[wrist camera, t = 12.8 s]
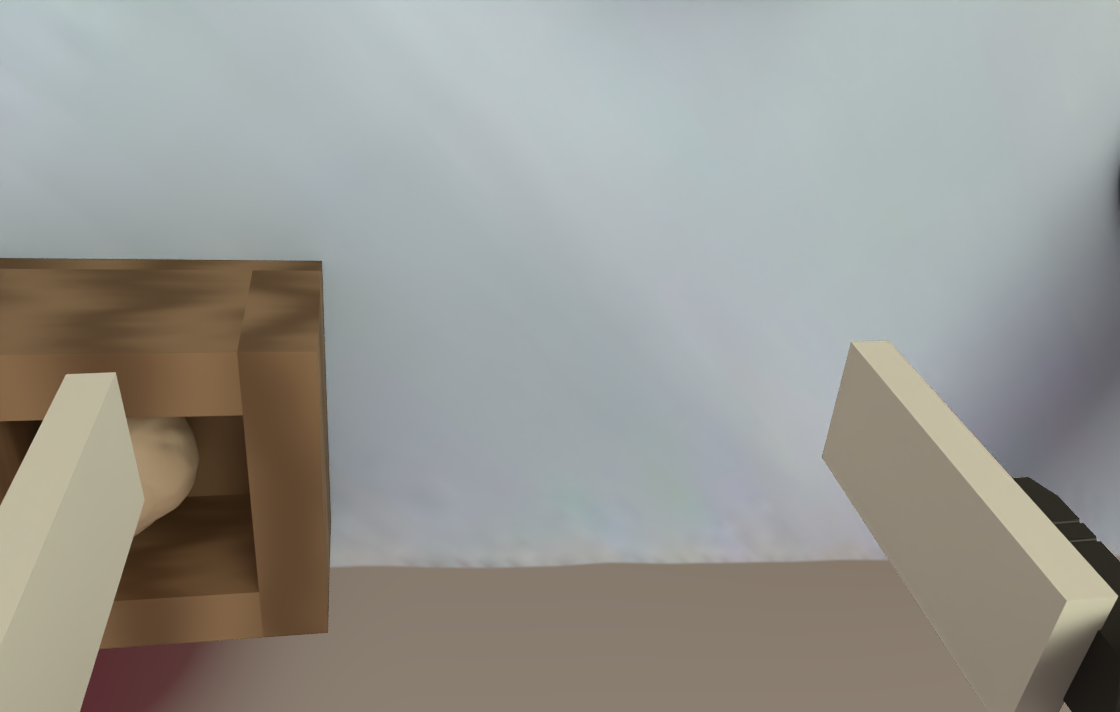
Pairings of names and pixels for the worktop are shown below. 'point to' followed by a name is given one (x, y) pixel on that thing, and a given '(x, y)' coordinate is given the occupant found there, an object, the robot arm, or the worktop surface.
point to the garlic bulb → (163, 464)
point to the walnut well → (193, 428)
